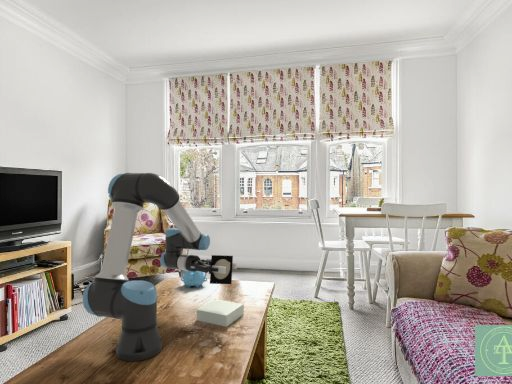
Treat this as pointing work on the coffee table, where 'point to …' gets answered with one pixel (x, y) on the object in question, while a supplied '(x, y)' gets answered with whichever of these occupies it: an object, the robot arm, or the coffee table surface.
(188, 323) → the coffee table surface
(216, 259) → the decorative object
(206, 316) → the sage block
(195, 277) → the blue ceramic pot
